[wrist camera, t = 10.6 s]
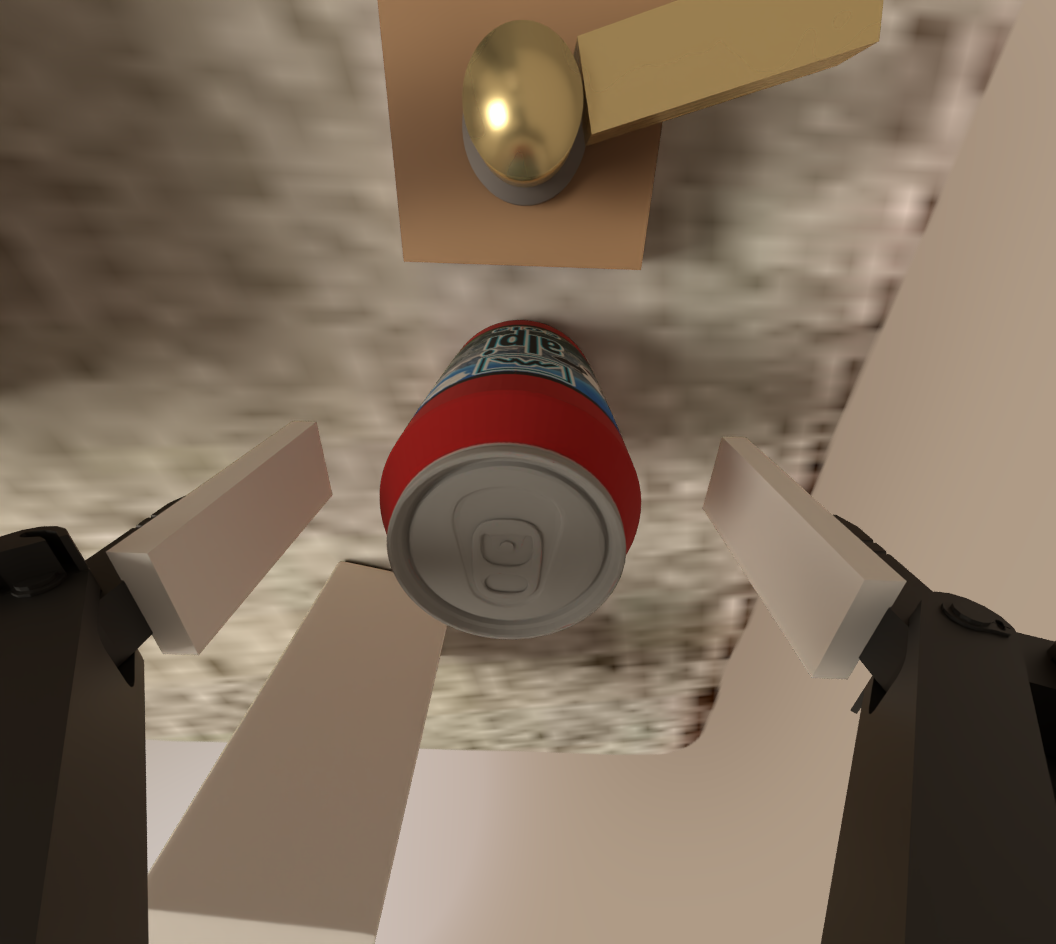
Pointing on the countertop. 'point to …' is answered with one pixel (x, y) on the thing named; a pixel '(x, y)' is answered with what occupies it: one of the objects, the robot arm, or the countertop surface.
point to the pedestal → (460, 172)
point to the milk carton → (308, 781)
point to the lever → (643, 72)
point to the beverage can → (511, 489)
